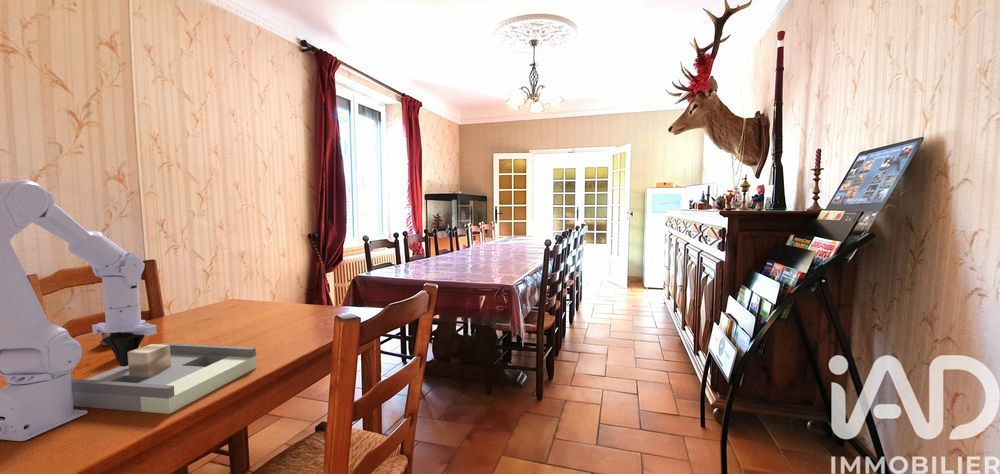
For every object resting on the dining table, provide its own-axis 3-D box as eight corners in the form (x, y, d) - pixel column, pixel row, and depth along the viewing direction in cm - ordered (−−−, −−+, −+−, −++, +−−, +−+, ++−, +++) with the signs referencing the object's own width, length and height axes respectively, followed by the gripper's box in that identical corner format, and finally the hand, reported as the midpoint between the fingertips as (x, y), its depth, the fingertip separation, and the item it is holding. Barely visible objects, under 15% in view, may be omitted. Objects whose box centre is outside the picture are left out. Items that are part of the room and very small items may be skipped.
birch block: (148, 375, 85) (147, 353, 85) (129, 374, 86) (127, 351, 86) (171, 366, 90) (169, 345, 90) (152, 365, 91) (150, 344, 91)
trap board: (169, 413, 75) (167, 388, 75) (57, 404, 79) (55, 380, 79) (256, 367, 97) (255, 347, 96) (165, 362, 101) (163, 342, 100)
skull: (102, 339, 119) (100, 319, 118) (137, 334, 124) (135, 315, 123) (98, 350, 110) (96, 328, 109) (135, 344, 115) (134, 323, 114)
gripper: (168, 302, 91) (172, 359, 92) (114, 300, 93) (119, 356, 94) (135, 310, 84) (140, 372, 85) (79, 308, 86) (84, 368, 87)
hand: (127, 364), depth 89 cm, fingers closed
